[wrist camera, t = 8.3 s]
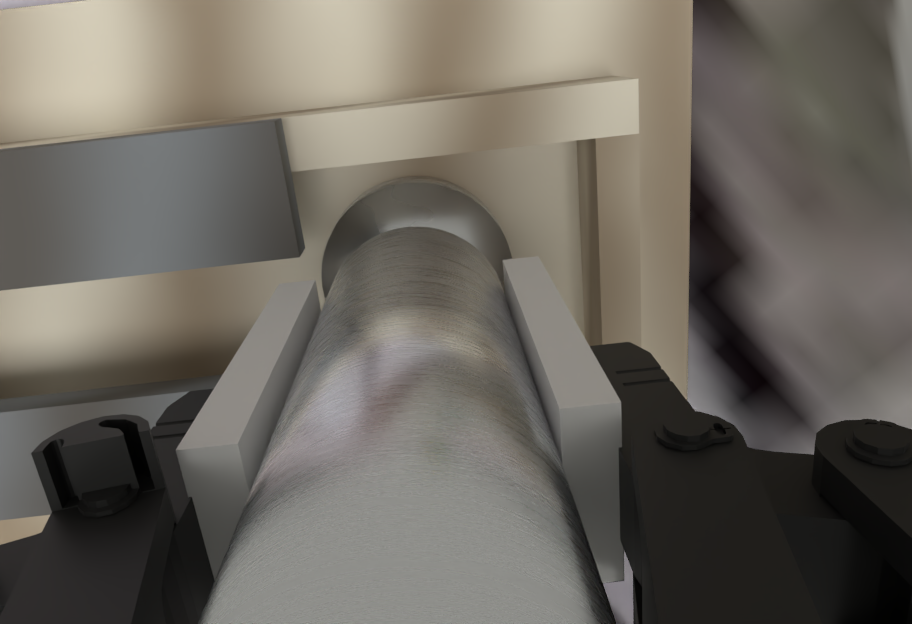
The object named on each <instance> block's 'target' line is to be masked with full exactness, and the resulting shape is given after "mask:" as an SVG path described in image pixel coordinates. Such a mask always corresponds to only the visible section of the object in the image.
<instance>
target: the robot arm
mask: <svg viewBox="0 0 912 624" xmlns="http://www.w3.org/2000/svg"><path fill="white" fill-rule="evenodd" d="M503 272H504V285H505V297H506V300H507V303H508V306H509V309H510V311H511V314H512V317H513V320H514V323H515V326H516V329H517V332H518V335H519V338H520V341H521V344H522V347H523V350H524V353H525V356H526V359H527V362H528V365H529V368H530V371H531V373H532V376H533V379H534V382H535V385H536V388H537V391H538V394H539V397H540V400H541V403H542V406H543V409H544V412H545V415H546V418H547V421H548V424H549V427H550V430H551V433H552V436H553V438H554V441H555V444H556V447H557V450H558V453H559V456H560V459H561V462H562V465H563V468H564V471H565V474H566V477H567V480H568V483H569V486H570V489H571V492H572V495H573V498H574V500H575V503H576V506H577V509H578V512H579V515H580V518H581V521H582V524H583V527H584V530H585V533H586V536H587V539H588V542H589V545H590V548H591V551H592V554H593V557H594V560H595V562H596V565H597V568H598V571H599V574H600V577H601V580H602V583H608V582H617V581H624V551H625V553H626V555H627V558H628V560H629V563H630V565H631V568H632V570H633V605H634V624H912V430H911V429H908V428H905V427H902V426H899V425H896V424H894V423H892V422H887V421H881V420H880V422H879V421H877V420H872V419H862V420H844V421H841V422H837V423H833V424H829V425H827V426H825V427H824V428H823V429H821V430H820V431H819V432H818V433H817V435H816V442H815V452H814V455H810V454H796V453H783V452H771V451H764V450H756V449H752V448H748V447H747V445H746V443H745V440H744V438H743V436H742V435H741V433H740V432H739V431H738V430H737V429H736V427H735V426H734V425H732V424H730V423H729V422H727V421H725V420H723V419H721V418H719V417H717V416H713V415H709V414H706V413H702V412H695V411H694V409H693V408H692V407H691V405H690V404H689V403H688V401H687V400H686V399H685V398H684V396H683V395H682V394H681V392H680V391H679V390H678V388H677V387H676V386H675V384H674V383H673V382H672V381H670V378H669V376H668V375H667V374H666V372H665V371H664V370H663V369H661V366H660V365H659V363H658V362H657V361H656V359H655V358H654V357H653V355H652V354H651V353H650V352H648V351H646V350H644V349H643V348H641V347H639V346H637V345H635V344H633V343H631V342H622V343H613V344H603V345H594V346H589V344H588V343H587V341H586V339H585V337H584V336H583V334H582V332H581V330H580V329H579V327H578V325H577V323H576V321H575V320H574V318H573V316H572V314H571V313H570V311H569V309H568V307H567V306H566V304H565V302H564V300H563V299H562V297H561V295H560V293H559V292H558V290H557V288H556V286H555V284H554V283H553V281H552V279H551V277H550V276H549V274H548V272H547V270H546V269H545V267H544V265H543V263H542V262H541V260H540V258H539V256H535V257H526V258H516V259H507V260H503ZM320 314H321V309H320V303H319V297H318V292H317V286H316V280H310V281H300V282H291V283H282V284H279V285H278V287H277V288H276V290H275V292H274V293H273V295H272V296H271V298H270V300H269V301H268V303H267V304H266V306H265V308H264V309H263V311H262V312H261V314H260V316H259V317H258V319H257V320H256V322H255V324H254V325H253V327H252V328H251V330H250V332H249V333H248V335H247V336H246V338H245V340H244V341H243V343H242V344H241V346H240V348H239V349H238V351H237V352H236V354H235V356H234V357H233V359H232V360H231V362H230V364H229V365H228V367H227V368H226V370H225V372H224V373H223V375H222V377H221V378H220V380H219V381H218V383H217V385H216V386H215V388H214V389H205V390H196V391H189V392H188V393H187V394H185V395H184V396H182V397H181V398H179V399H178V400H177V401H175V402H174V403H172V404H171V405H169V406H168V407H167V408H166V410H165V411H164V412H163V414H162V415H161V417H160V418H159V419H158V421H157V422H156V426H155V427H153V428H152V429H150V426H149V422H148V421H147V420H145V419H144V418H142V417H140V416H137V415H127V414H119V415H110V416H102V417H99V418H95V419H91V420H87V421H83V422H80V423H78V424H75V425H73V426H70V427H68V428H66V429H63V430H61V431H59V432H57V433H56V434H54V435H52V436H51V437H49V438H47V439H46V440H44V441H42V442H41V443H40V444H39V445H38V446H37V447H36V448H35V449H34V451H33V452H32V453H31V455H32V458H33V461H34V463H35V466H36V469H37V472H38V474H39V477H40V480H41V483H42V486H43V488H44V491H45V494H46V497H47V500H48V502H49V505H50V508H51V511H52V513H51V515H50V517H49V519H48V521H47V523H46V525H45V527H44V529H43V531H42V532H41V533H38V534H36V535H33V536H29V537H26V538H22V539H19V540H15V541H12V542H8V543H5V544H1V545H0V624H198V622H199V619H200V617H201V614H202V612H203V609H204V607H205V604H206V602H207V599H208V597H209V594H210V592H211V589H212V587H213V584H214V581H215V579H216V576H217V574H218V571H219V569H220V566H221V564H222V561H223V559H224V556H225V554H226V551H227V549H228V546H229V544H230V541H231V539H232V536H233V533H234V531H235V528H236V526H237V523H238V521H239V518H240V516H241V513H242V511H243V508H244V506H245V503H246V501H247V498H248V496H249V493H250V490H251V488H252V485H253V483H254V480H255V478H256V475H257V473H258V470H259V468H260V465H261V463H262V460H263V458H264V455H265V453H266V450H267V448H268V445H269V442H270V440H271V437H272V435H273V432H274V430H275V427H276V425H277V422H278V420H279V417H280V415H281V412H282V410H283V407H284V405H285V402H286V400H287V397H288V394H289V392H290V389H291V387H292V384H293V382H294V379H295V377H296V374H297V372H298V369H299V367H300V364H301V362H302V359H303V357H304V354H305V351H306V349H307V346H308V344H309V341H310V339H311V336H312V334H313V331H314V329H315V326H316V324H317V321H318V319H319V316H320Z"/></svg>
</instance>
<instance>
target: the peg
mask: <svg viewBox="0 0 912 624" xmlns="http://www.w3.org/2000/svg"><path fill="white" fill-rule="evenodd" d="M507 259H512V256H511V252H510V248H509V245H508V243H507V240H506V238H505V236H504V233H503V231H502V229H501V227H500V225H499V223H498V221H497V220H496V218H495V216H494V215H493V214H492V212H491V211H490V210H489V209H488V207H487V206H486V205H485V204H484V203H483V202H482V201H481V200H480V199H479V198H477V197H476V196H475V195H473V194H472V193H471V192H469V191H468V190H466V189H464V188H462V187H460V186H459V185H457V184H454V183H452V182H449V181H446V180H443V179H438V178H434V177H426V176H407V177H401V178H395V179H392V180H389V181H386V182H383V183H381V184H378V185H376V186H374V187H372V188H370V189H369V190H367V191H366V192H364V193H363V194H361V195H360V196H359V197H358V198H357V199H355V200H354V201H353V202H352V203H351V204H350V205H349V206H348V207H347V209H346V210H345V211H344V212H343V214H342V215H341V217H340V218H339V220H338V221H337V223H336V225H335V227H334V229H333V231H332V233H331V235H330V237H329V239H328V242H327V245H326V248H325V251H324V255H323V261H322V273H321V278H322V288H323V292H324V297H325V303H324V306H323V309H322V311H321V314H320V316H319V319H318V321H317V324H316V326H315V329H314V331H313V334H312V336H311V339H310V341H309V344H308V346H307V349H306V351H305V354H304V357H303V359H302V362H301V364H300V367H299V369H298V372H297V374H296V377H295V379H294V382H293V384H292V387H291V389H290V392H289V394H288V397H287V400H286V402H285V405H284V407H283V410H282V412H281V415H280V417H279V420H278V422H277V425H276V427H275V430H274V432H273V435H272V437H271V440H270V442H269V445H268V448H267V450H266V453H265V455H264V458H263V460H262V463H261V465H260V468H259V470H258V473H257V475H256V478H255V480H254V483H253V485H252V488H251V490H250V493H249V496H248V498H247V501H246V503H245V506H244V508H243V511H242V513H241V516H240V518H239V521H238V523H237V526H236V528H235V531H234V533H233V536H232V539H231V541H230V544H229V546H228V549H227V551H226V554H225V556H224V559H223V561H222V564H221V566H220V569H219V571H218V574H217V576H216V579H215V581H214V584H213V587H212V589H211V592H210V594H209V597H208V599H207V602H206V604H205V607H204V609H203V612H202V614H201V617H200V619H199V622H198V624H616V622H615V619H614V616H613V613H612V610H611V607H610V604H609V601H608V598H607V595H606V592H605V589H604V586H603V583H602V580H601V577H600V574H599V571H598V568H597V565H596V562H595V560H594V557H593V554H592V551H591V548H590V545H589V542H588V539H587V536H586V533H585V530H584V527H583V524H582V521H581V518H580V515H579V512H578V509H577V506H576V503H575V500H574V498H573V495H572V492H571V489H570V486H569V483H568V480H567V477H566V474H565V471H564V468H563V465H562V462H561V459H560V456H559V453H558V450H557V447H556V444H555V441H554V438H553V436H552V433H551V430H550V427H549V424H548V421H547V418H546V415H545V412H544V409H543V406H542V403H541V400H540V397H539V394H538V391H537V388H536V385H535V382H534V379H533V376H532V373H531V371H530V368H529V365H528V362H527V359H526V356H525V353H524V350H523V347H522V344H521V341H520V338H519V335H518V332H517V329H516V326H515V323H514V320H513V317H512V314H511V311H510V309H509V306H508V303H507V300H506V297H505V285H504V272H503V260H507Z"/></svg>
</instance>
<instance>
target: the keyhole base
mask: <svg viewBox="0 0 912 624" xmlns="http://www.w3.org/2000/svg"><path fill="white" fill-rule="evenodd" d="M692 25H693V0H85V1H76V2H67V3H58V4H48V5H39V6H30V7H21V8H12V9H3V10H0V545H1V544H5V543H8V542H12V541H15V540H19V539H22V538H26V537H29V536H33V535H36V534H38V533H41V532H42V531H43V529H44V527H45V525H46V523H47V521H48V519H49V517H50V515H51V513H52V511H51V508H50V505H49V502H48V500H47V497H46V494H45V491H44V488H43V486H42V483H41V480H40V477H39V474H38V472H37V469H36V466H35V463H34V461H33V458H32V455H31V453H32V452H33V451H34V449H35V448H36V447H37V446H38V445H39V444H40V443H41V442H42V441H44V440H46V439H47V438H49V437H51V436H52V435H54V434H56V433H57V432H59V431H61V430H63V429H66V428H68V427H70V426H73V425H75V424H78V423H80V422H83V421H87V420H91V419H95V418H99V417H102V416H110V415H119V414H127V415H137V416H140V417H142V418H144V419H145V420H147V421H148V422H149V426H150V429H152V428H153V427H155V426H156V422H157V421H158V419H159V418H160V417H161V415H162V414H163V412H164V411H165V410H166V408H167V407H168V406H169V405H171V404H172V403H174V402H175V401H177V400H178V399H179V398H181V397H182V396H184V395H185V394H187V393H188V392H189V391H196V390H205V389H214V388H215V386H216V385H217V383H218V381H219V380H220V378H221V377H222V375H223V373H224V372H225V370H226V368H227V367H228V365H229V364H230V362H231V360H232V359H233V357H234V356H235V354H236V352H237V351H238V349H239V348H240V346H241V344H242V343H243V341H244V340H245V338H246V336H247V335H248V333H249V332H250V330H251V328H252V327H253V325H254V324H255V322H256V320H257V319H258V317H259V316H260V314H261V312H262V311H263V309H264V308H265V306H266V304H267V303H268V301H269V300H270V298H271V296H272V295H273V293H274V292H275V290H276V288H277V287H278V285H279V284H282V283H291V282H300V281H310V280H316V286H317V292H318V297H319V303H320V309H321V311H322V309H323V306H324V303H325V297H324V292H323V288H322V278H321V273H322V261H323V255H324V251H325V248H326V245H327V242H328V239H329V237H330V235H331V233H332V231H333V229H334V227H335V225H336V223H337V221H338V220H339V218H340V217H341V215H342V214H343V212H344V211H345V210H346V209H347V207H348V206H349V205H350V204H351V203H352V202H353V201H354V200H355V199H357V198H358V197H359V196H360V195H361V194H363V193H364V192H366V191H367V190H369V189H370V188H372V187H374V186H376V185H378V184H381V183H383V182H386V181H389V180H392V179H395V178H401V177H407V176H426V177H434V178H438V179H443V180H446V181H449V182H452V183H454V184H457V185H459V186H460V187H462V188H464V189H466V190H468V191H469V192H471V193H472V194H473V195H475V196H476V197H477V198H479V199H480V200H481V201H482V202H483V203H484V204H485V205H486V206H487V207H488V209H489V210H490V211H491V212H492V214H493V215H494V216H495V218H496V220H497V221H498V223H499V225H500V227H501V229H502V231H503V233H504V236H505V238H506V240H507V243H508V245H509V248H510V252H511V256H512V259H516V258H526V257H535V256H539V258H540V260H541V262H542V263H543V265H544V267H545V269H546V270H547V272H548V274H549V276H550V277H551V279H552V281H553V283H554V284H555V286H556V288H557V290H558V292H559V293H560V295H561V297H562V299H563V300H564V302H565V304H566V306H567V307H568V309H569V311H570V313H571V314H572V316H573V318H574V320H575V321H576V323H577V325H578V327H579V329H580V330H581V332H582V334H583V336H584V337H585V339H586V341H587V343H588V344H589V346H594V345H603V344H613V343H622V342H631V343H633V344H635V345H637V346H639V347H641V348H643V349H644V350H646V351H648V352H650V353H651V354H652V355H653V357H654V358H655V359H656V361H657V362H658V363H659V365H660V366H661V369H663V370H664V371H665V372H666V374H667V375H668V376H669V378H670V381H672V382H673V383H674V384H675V386H676V387H677V388H678V390H679V391H680V392H681V394H682V395H683V396H684V398H685V399H686V400H687V379H688V308H689V237H690V167H691V96H692Z"/></svg>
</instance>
